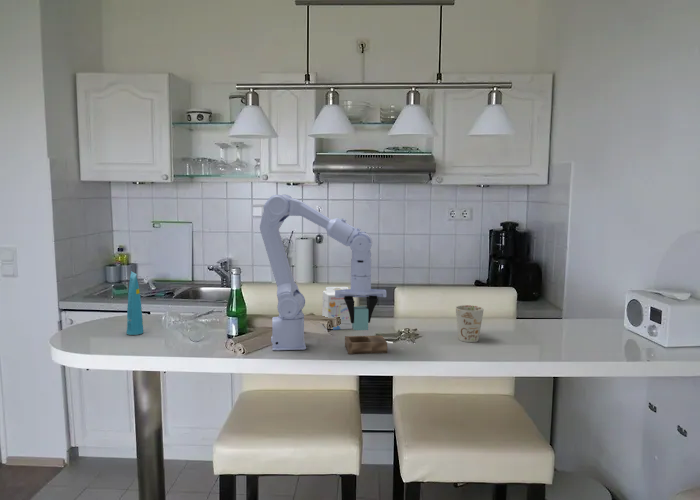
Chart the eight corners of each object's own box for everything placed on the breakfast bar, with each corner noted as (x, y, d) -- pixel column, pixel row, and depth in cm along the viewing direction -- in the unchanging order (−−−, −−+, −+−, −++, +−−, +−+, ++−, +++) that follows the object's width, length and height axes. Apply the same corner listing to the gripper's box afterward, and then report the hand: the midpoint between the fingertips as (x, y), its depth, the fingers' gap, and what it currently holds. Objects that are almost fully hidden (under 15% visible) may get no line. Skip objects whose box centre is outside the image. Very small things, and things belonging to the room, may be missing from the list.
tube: (146, 334, 163) (145, 273, 161) (130, 337, 160) (128, 275, 158) (139, 329, 169) (137, 270, 167) (123, 332, 166) (121, 271, 164)
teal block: (354, 330, 148) (354, 309, 147) (352, 326, 152) (352, 306, 151) (368, 330, 149) (368, 309, 148) (365, 326, 152) (365, 306, 152)
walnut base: (348, 354, 146) (348, 343, 146) (344, 346, 154) (344, 336, 154) (387, 352, 148) (387, 342, 148) (381, 345, 155) (381, 335, 155)
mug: (451, 341, 161) (452, 309, 160) (462, 331, 172) (463, 301, 171) (478, 344, 157) (479, 312, 156) (488, 335, 168) (489, 304, 167)
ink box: (327, 330, 172) (327, 290, 170) (321, 324, 180) (322, 285, 178) (352, 329, 174) (353, 289, 172) (346, 322, 182) (346, 284, 181)
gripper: (337, 277, 143) (336, 326, 145) (389, 277, 146) (388, 325, 147) (334, 273, 150) (333, 320, 152) (383, 273, 152) (382, 319, 154)
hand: (360, 322), depth 150 cm, fingers closed on teal block, 4 cm apart
